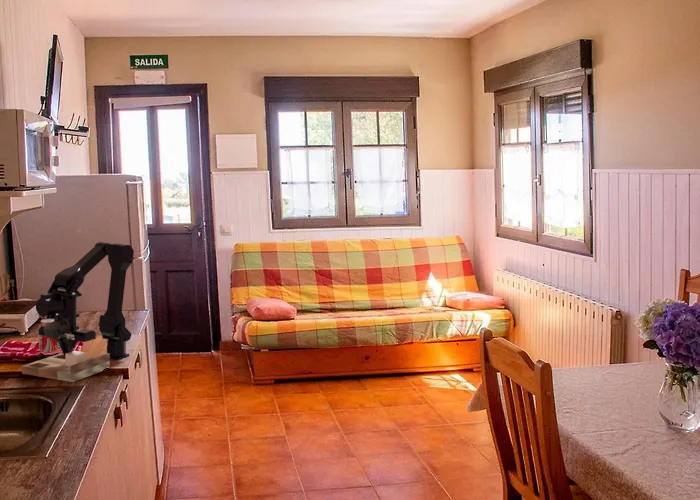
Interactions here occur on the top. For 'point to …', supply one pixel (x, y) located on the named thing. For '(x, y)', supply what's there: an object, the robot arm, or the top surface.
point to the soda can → (47, 339)
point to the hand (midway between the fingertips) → (66, 358)
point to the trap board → (66, 367)
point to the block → (75, 357)
